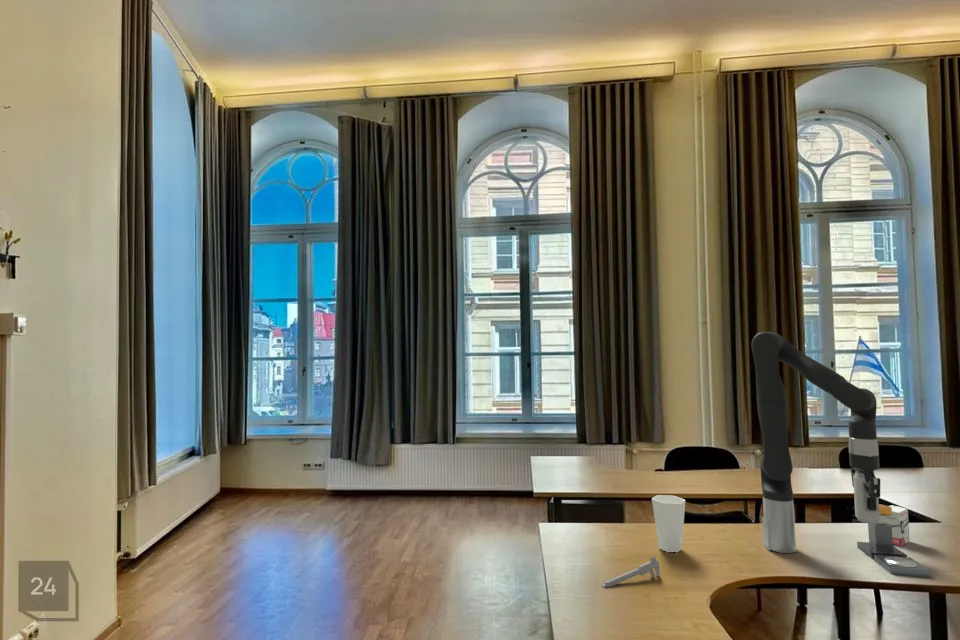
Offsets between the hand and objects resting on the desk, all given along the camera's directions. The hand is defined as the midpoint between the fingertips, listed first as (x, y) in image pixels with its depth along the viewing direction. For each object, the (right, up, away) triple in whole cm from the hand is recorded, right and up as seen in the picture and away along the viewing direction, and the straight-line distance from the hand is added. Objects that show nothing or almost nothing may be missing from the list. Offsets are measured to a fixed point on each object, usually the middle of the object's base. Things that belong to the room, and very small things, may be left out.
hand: (866, 506), depth 159 cm
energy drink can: (0, -5, 0) cm, 5 cm away
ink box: (+28, -21, +22) cm, 41 cm away
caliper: (-76, -20, -7) cm, 79 cm away
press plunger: (+14, -14, +12) cm, 23 cm away
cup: (-55, -22, +18) cm, 62 cm away
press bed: (+11, -19, 0) cm, 22 cm away
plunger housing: (+14, -20, +11) cm, 27 cm away
